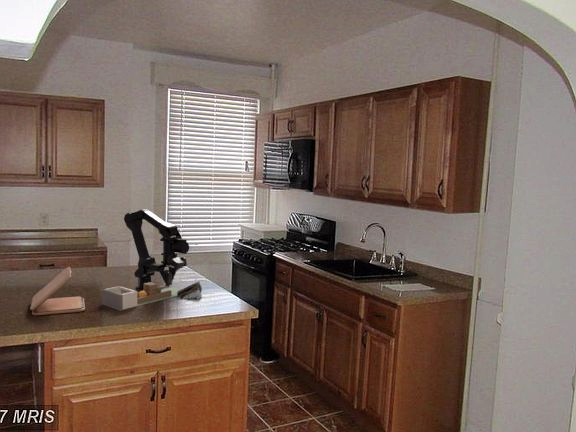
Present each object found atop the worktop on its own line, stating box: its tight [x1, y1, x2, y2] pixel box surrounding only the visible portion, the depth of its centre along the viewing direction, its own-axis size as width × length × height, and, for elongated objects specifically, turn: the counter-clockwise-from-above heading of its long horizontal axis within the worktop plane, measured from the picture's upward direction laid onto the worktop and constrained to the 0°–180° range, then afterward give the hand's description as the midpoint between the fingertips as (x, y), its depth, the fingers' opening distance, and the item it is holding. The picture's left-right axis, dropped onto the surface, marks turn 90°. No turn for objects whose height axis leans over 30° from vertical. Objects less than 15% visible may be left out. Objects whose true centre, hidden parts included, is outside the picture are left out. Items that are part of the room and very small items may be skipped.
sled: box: [142, 272, 173, 296], centre depth 236 cm, size 5×15×10 cm, turn 144°
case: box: [29, 266, 86, 316], centre depth 212 cm, size 20×21×16 cm
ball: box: [138, 290, 147, 298], centre depth 229 cm, size 4×4×4 cm
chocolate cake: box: [177, 281, 203, 300], centre depth 237 cm, size 10×7×12 cm
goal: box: [101, 285, 138, 311], centre depth 219 cm, size 13×9×6 cm
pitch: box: [102, 287, 181, 312], centre depth 232 cm, size 13×40×3 cm, turn 144°
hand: (168, 282), depth 241 cm, fingers closed on sled, 3 cm apart
